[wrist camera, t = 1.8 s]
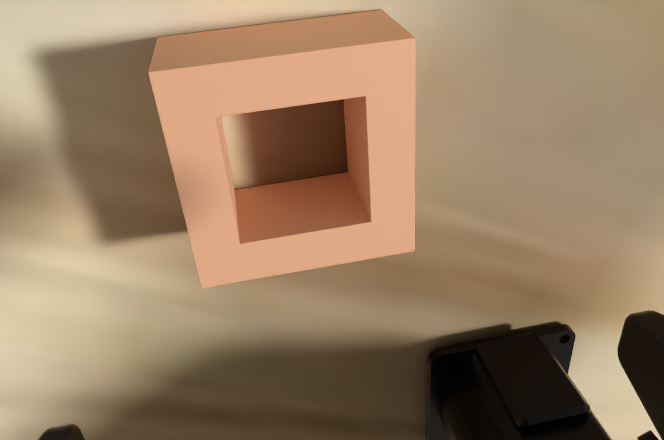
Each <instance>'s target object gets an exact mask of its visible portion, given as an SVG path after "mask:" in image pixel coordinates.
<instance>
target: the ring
mask: <svg viewBox="0 0 664 440" xmlns="http://www.w3.org/2000/svg"><path fill="white" fill-rule="evenodd" d="M415 39H416V38H415V37H414V36H413V35H412V34H410V33H409V32H408V31H407V30H406V29H404V28H403V27H402V26H401V25H400V24H398V23H397V22H396V21H395V20H393V19H392V18H391V17H390V16H389V15H387V14H386V13H385V12H384V11H383V10H374V11H366V12H358V13H350V14H342V15H334V16H326V17H317V18H309V19H301V20H293V21H285V22H277V23H268V24H260V25H252V26H244V27H236V28H228V29H219V30H211V31H203V32H195V33H187V34H179V35H170V36H162V37H157V40H156V44H155V48H154V52H153V56H152V60H151V64H150V67H149V71H148V73H149V77H150V81H151V85H152V89H153V93H154V97H155V101H156V105H157V109H158V113H159V117H160V121H161V125H162V129H163V133H164V138H165V142H166V146H167V150H168V154H169V158H170V162H171V166H172V170H173V174H174V178H175V182H176V186H177V190H178V194H179V198H180V202H181V206H182V210H183V214H184V218H185V222H186V226H187V230H188V234H189V238H190V242H191V246H192V250H193V254H194V258H195V262H196V266H197V270H198V274H199V278H200V282H201V286H202V288H206V287H211V286H217V285H223V284H229V283H234V282H240V281H246V280H251V279H257V278H263V277H269V276H274V275H280V274H286V273H292V272H297V271H303V270H309V269H314V268H320V267H326V266H332V265H337V264H343V263H349V262H355V261H360V260H366V259H372V258H377V257H383V256H389V255H395V254H400V253H406V252H412V251H415ZM341 99H343V102H344V117H345V132H346V148H347V163H348V172H346V173H340V174H333V175H327V176H320V177H314V178H307V179H301V180H295V181H288V182H282V183H275V184H269V185H262V186H256V187H250V188H243V189H237V190H234V184H233V179H232V174H231V169H230V163H229V158H228V153H227V147H226V142H225V137H224V132H223V126H222V121H221V116H227V115H234V114H241V113H249V112H256V111H263V110H270V109H277V108H284V107H291V106H298V105H306V104H313V103H320V102H327V101H334V100H341Z"/></svg>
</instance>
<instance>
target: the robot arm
mask: <svg viewBox="0 0 664 440" xmlns="http://www.w3.org/2000/svg"><path fill="white" fill-rule="evenodd" d="M574 341H575V333H574V332H573V331H572V329H571V328H570V327H569V325H566V324H561V325H556V326H551V327H546V328H540V329H535V330H530V331H525V332H520V333H515V334H510V335H505V336H500V337H495V338H490V339H485V340H479V341H474V342H469V343H464V344H459V345H454V346H449V347H444V348H439V349H436V350H434V351H433V352H431V353H430V355H429V356H428V370H427V417H426V440H612V439H611V438H610V436H609V435H608V434H607V432H606V431H605V429H604V428H603V427H602V425H601V424H600V422H599V421H598V419H597V418H596V417H595V415H594V414H593V412H592V411H591V410H590V406H589V404H588V403H587V401H586V400H585V398H584V397H583V396H582V394H581V393H580V391H579V390H578V389H577V387H576V386H575V384H574V383H573V381H572V380H571V379H570V377H569V376H568V370H569V365H570V360H571V355H572V351H573V346H574ZM618 358H619V361H620V363H621V365H622V367H623V369H624V371H625V373H626V374H627V376H628V378H629V380H630V382H631V384H632V386H633V387H634V389H635V391H636V393H637V395H638V397H639V398H640V400H641V402H642V404H643V406H644V408H645V410H646V411H647V413H648V415H649V417H650V419H651V421H652V422H653V424H654V426H655V428H656V430H657V432H658V433H659V435H660V437H661V438H662V440H664V315H662V314H660V313H658V312H655V311H643V312H638V313H633V314H630V315H629V316H628V317H627V318H626V319H625V322H624V326H623V330H622V334H621V337H620V341H619V345H618ZM439 360H441V361H439ZM637 439H638V440H658V438H657V437H656V436H655V435H654V434H653V432H652V431H651V430H650V431H648V432H646V433H644V434H642V435H640V436H639V437H637ZM38 440H85V439H84V437H83V435H82V433H81V430H80V429H79V427H78V426H77V425H75V424H67V425H62V426H57V427H52V428H49V429H47V430H46V431H45V432H44V433H43V434H42V435H41V436H40V438H39V439H38Z"/></svg>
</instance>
